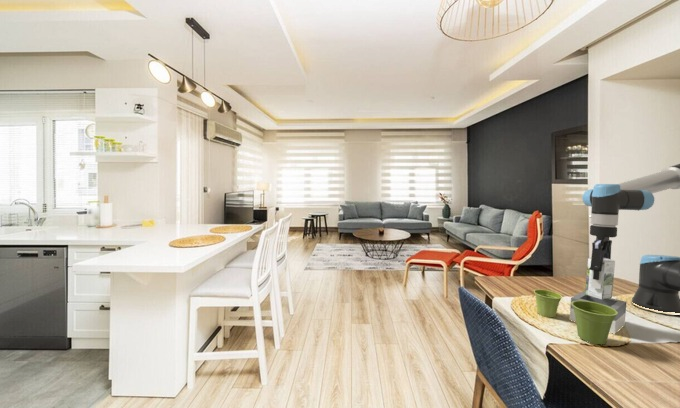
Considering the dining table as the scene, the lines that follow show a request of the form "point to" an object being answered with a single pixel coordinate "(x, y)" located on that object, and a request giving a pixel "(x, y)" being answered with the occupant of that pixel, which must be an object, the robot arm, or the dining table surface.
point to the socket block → (613, 303)
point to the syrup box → (607, 280)
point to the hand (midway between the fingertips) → (599, 286)
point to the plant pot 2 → (593, 321)
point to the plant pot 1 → (547, 302)
